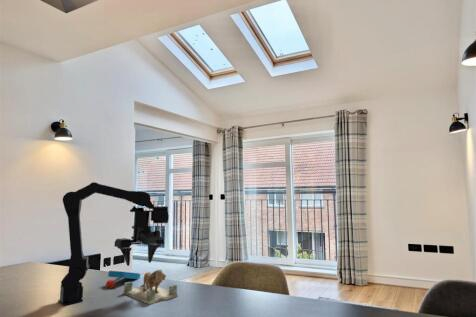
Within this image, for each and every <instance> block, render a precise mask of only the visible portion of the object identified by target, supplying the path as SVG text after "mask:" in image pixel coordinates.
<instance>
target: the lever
mask: <svg viewBox="0 0 476 317" xmlns="http://www.w3.org/2000/svg"><path fill="white" fill-rule="evenodd" d="M107 277H111V278H116V279H109V280H107V281H106V283H105V287H106V288H107V289H112V288H114V287H115V284H116V283H117V282H118V281H119V282H120V280H121V279H133V280H139V279H141V273H138V272H128V271H119V270H118V271H117V270H108V275H107Z"/></svg>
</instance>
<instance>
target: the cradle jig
mask: <svg viewBox="0 0 476 317" xmlns="http://www.w3.org/2000/svg"><path fill="white" fill-rule="evenodd" d="M123 285H124V287H123V288H124V289H123V294H124V295H127V296H129V297H131V298H134V299H135V300H136V299H137V300H138V301H141V302H144V303H146V304H148V305H152V304H154V303H158V302H162V301H163V302H164V301H166V300H170V299H173V298H177V297H178V285H177V284H171V285H168V289H165V288H163V287H159V286H158V288H157V291H158V293H155V287H153V288H152V290H150V288H147V281H146V284H145V290H146V291H143V287H141V286H139V287H133V282H132V281H128V282H124V284H123ZM149 287H150V285H149Z"/></svg>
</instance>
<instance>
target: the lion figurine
mask: <svg viewBox="0 0 476 317" xmlns="http://www.w3.org/2000/svg"><path fill="white" fill-rule="evenodd" d="M166 278H167V275H166V274H165V273H163V270H162V269H157V270H154V271H153V272H152V273H151V272H145V273H144V276H143V284H141V285H140V287H143V291H146V290H145V286H146V281H147V288H150V290H152V288H153V287H155V293H158V291H157V288H158V287H159V286H160V284H162V283H163V281H165V280H166ZM149 285H150V287H149Z"/></svg>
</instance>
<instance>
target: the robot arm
mask: <svg viewBox="0 0 476 317" xmlns="http://www.w3.org/2000/svg"><path fill="white" fill-rule="evenodd" d="M93 194H98V195H99V194H100V195H104V196H109V197H113V198H117V199H121V200H125V201H127V202H130V203H133V204H135V205H133V207H131V208H130V210H129V212H130V213H134V217H133V225H132V226H131V229H133V232H132V236H131V238H123V237H122V238H116V239H115V241H114V247H116V248H117V249H120V251H121V254H122V257H123V259H124V262H125V264H126V265H127V267H128V266H129V267H130V263H131V250H132V247H131V246H132V245H141V244H142V245H145V246H147V259H148V263H149V264H151V262H152V260H153V258H154V256H155V253H156V251H157V249H158V248H159V247H162V245H164V244H165V238H164V236H162V235H161V231H160V230H154V231H152V229H151V226H150V221H152V224H168V223H169V218H170V217H169V216H170V215H169V207H168V206H167V205H166V206H155V205H154V204H153V202H152V201H151V199H152V198H151V195H150V194H149V193H148V192H146V191H138V190H126V189H121V188H117V187H114V186H109V185H105V184H100V183H98V182H96V181H95V182H94V181H93V182H90V183H89V184H88V185H86V186H84V187H82V188H80V189H78V190H76V191H68V192H66V193H65V194H64V195H63V197H62V203H63V208H64V210H65V213H66V216H67V220H68V236H69V246H70V258H69V259H70V260H69V264H68V265H69V266H68V272H67V273H66V275H64V277H63V278H62V279H61V281H60V289H59V290H60V291H59V292H60V293H59V294H60V295H59V299H58V300H57V302H58V303H60V304H61V305H62V306H67V305H71V304H76V303H81V302H83V301H84V299H83V297H84V286H83V283H82V282H81V280H83V279H84V278H85V276H86V274H87V272H88V270H89V268H90V264H89V255H87V256H85V254H84V252H83V238H82V228H81V227H82V226H81V211H82V204H83V203H82V202H83V200H85V199H87V198H88V197H91V196H92V195H93ZM136 205H137V206H140V207H136ZM145 207H146V208H147V209H148V210H145Z"/></svg>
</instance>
